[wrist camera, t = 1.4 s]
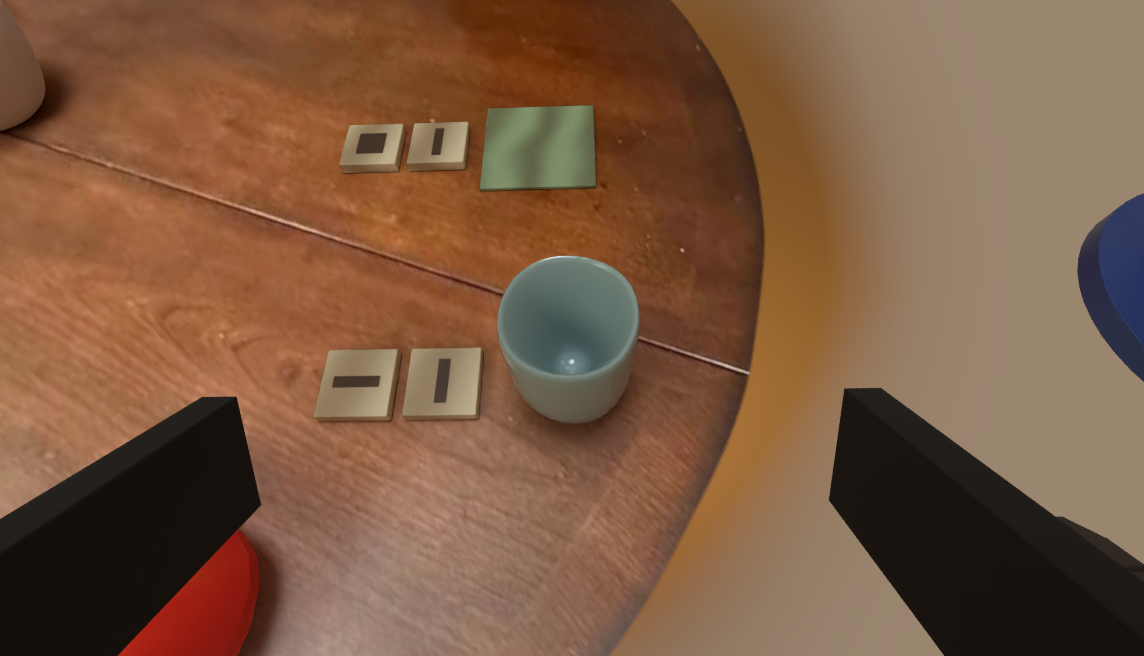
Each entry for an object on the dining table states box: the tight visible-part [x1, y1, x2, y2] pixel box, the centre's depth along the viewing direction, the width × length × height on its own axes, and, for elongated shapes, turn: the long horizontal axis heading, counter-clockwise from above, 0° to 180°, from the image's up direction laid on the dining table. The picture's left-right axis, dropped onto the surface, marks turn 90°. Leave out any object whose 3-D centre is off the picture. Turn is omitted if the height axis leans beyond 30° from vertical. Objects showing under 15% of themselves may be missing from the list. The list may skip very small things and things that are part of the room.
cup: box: [497, 256, 640, 424], centre depth 32 cm, size 8×8×10 cm
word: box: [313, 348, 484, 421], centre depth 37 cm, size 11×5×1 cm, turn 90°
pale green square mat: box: [339, 105, 596, 191], centre depth 47 cm, size 22×10×1 cm, turn 90°
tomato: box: [118, 530, 259, 656], centre depth 27 cm, size 13×12×8 cm
